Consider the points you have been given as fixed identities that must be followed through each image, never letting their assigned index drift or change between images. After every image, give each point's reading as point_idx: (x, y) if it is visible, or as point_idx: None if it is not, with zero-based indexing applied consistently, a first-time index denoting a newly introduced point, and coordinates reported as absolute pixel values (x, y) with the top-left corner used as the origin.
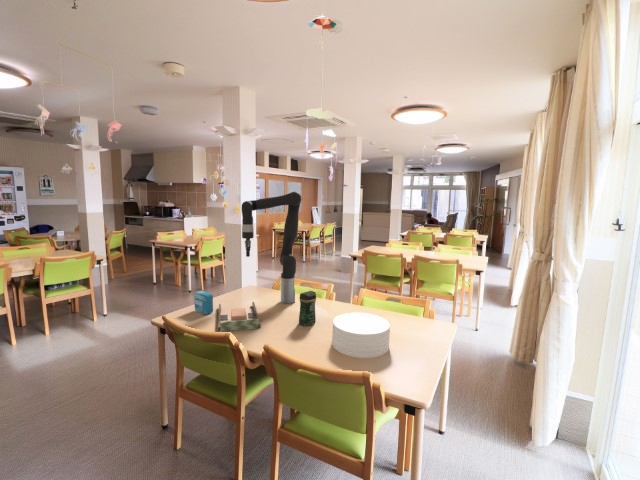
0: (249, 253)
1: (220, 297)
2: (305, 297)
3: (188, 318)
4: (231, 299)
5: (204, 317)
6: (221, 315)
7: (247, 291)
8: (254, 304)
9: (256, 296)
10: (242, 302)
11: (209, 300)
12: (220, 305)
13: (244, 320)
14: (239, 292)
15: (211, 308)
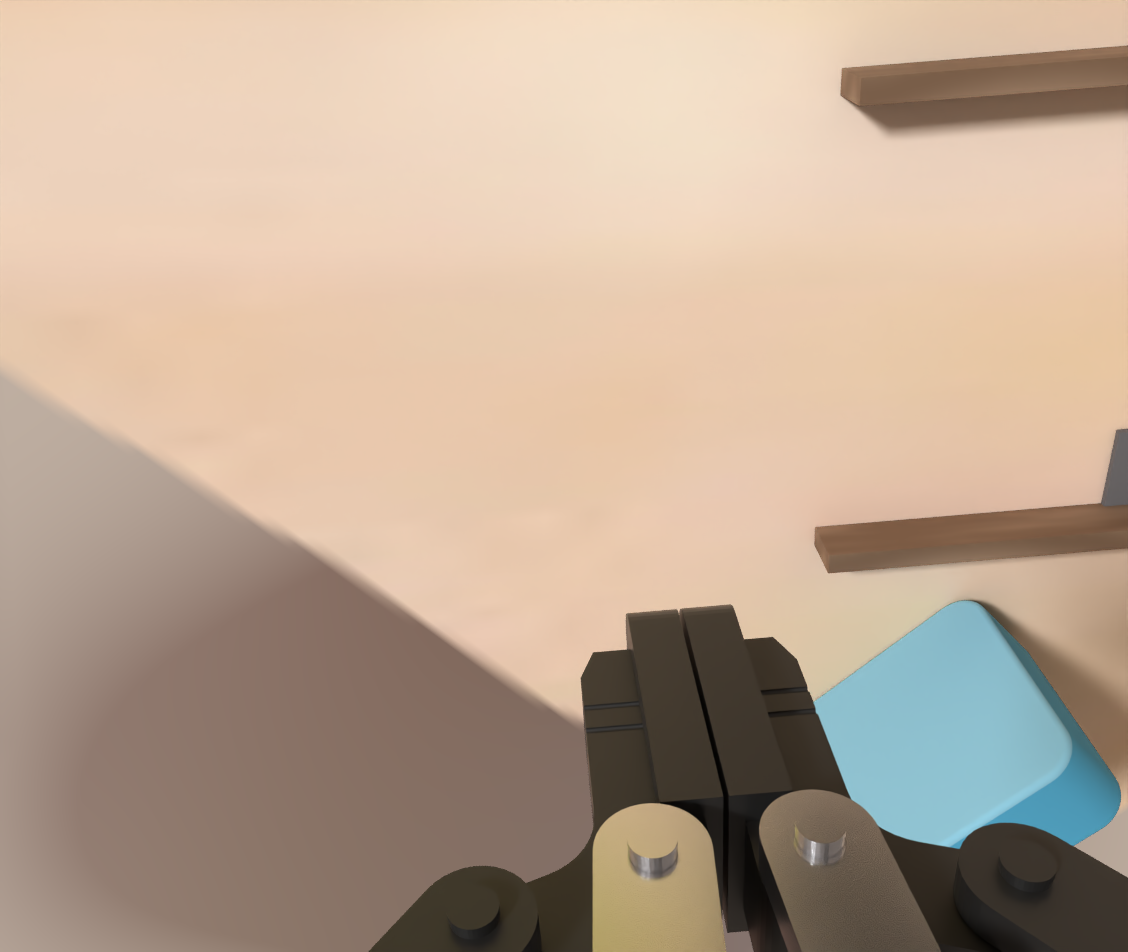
0: (764, 701)
1: (360, 570)
2: None
3: None
4: (470, 423)
5: (1089, 649)
6: (1123, 496)
7: (4, 184)
8: (1005, 71)
9: (330, 8)
10: (644, 258)
11: (1075, 729)
12: (888, 552)
13: None
14: (83, 323)
15: (1009, 638)
